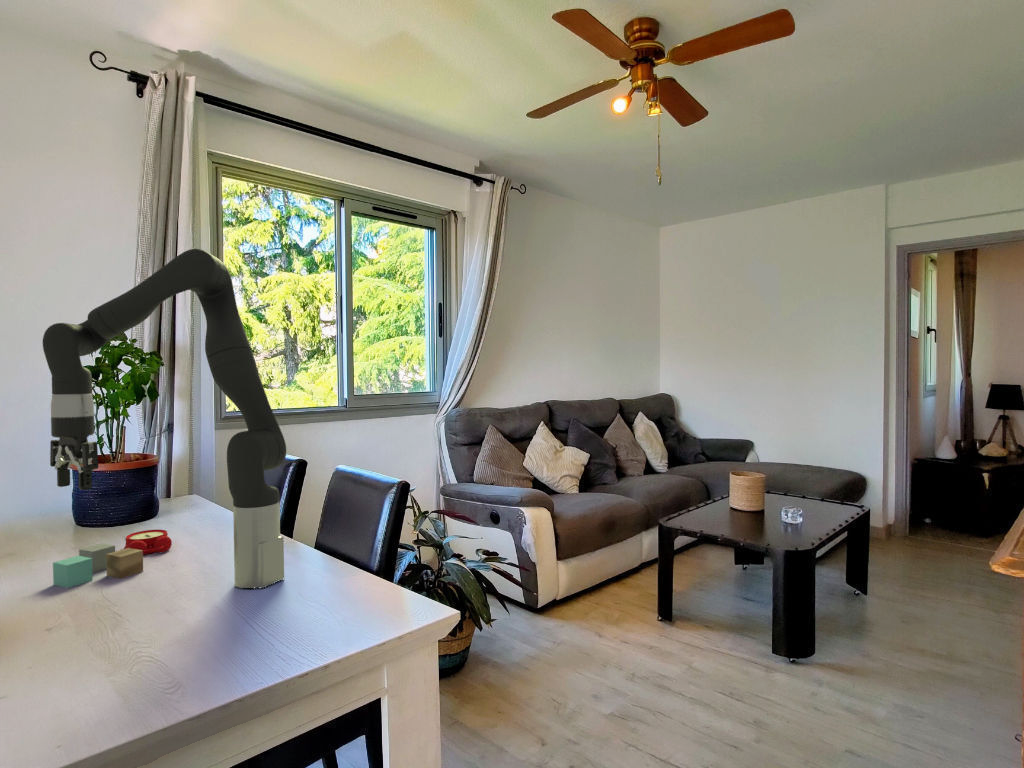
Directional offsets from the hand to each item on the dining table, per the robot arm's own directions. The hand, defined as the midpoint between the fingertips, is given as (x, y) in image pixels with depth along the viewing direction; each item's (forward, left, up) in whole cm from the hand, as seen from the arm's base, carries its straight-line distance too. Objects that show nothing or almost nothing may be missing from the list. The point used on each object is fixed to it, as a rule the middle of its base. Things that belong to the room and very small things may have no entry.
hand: (74, 487), depth 125 cm
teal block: (0, +1, -21) cm, 21 cm away
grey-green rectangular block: (+5, -7, -21) cm, 22 cm away
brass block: (-5, -7, -21) cm, 23 cm away
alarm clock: (+7, -21, -21) cm, 30 cm away
